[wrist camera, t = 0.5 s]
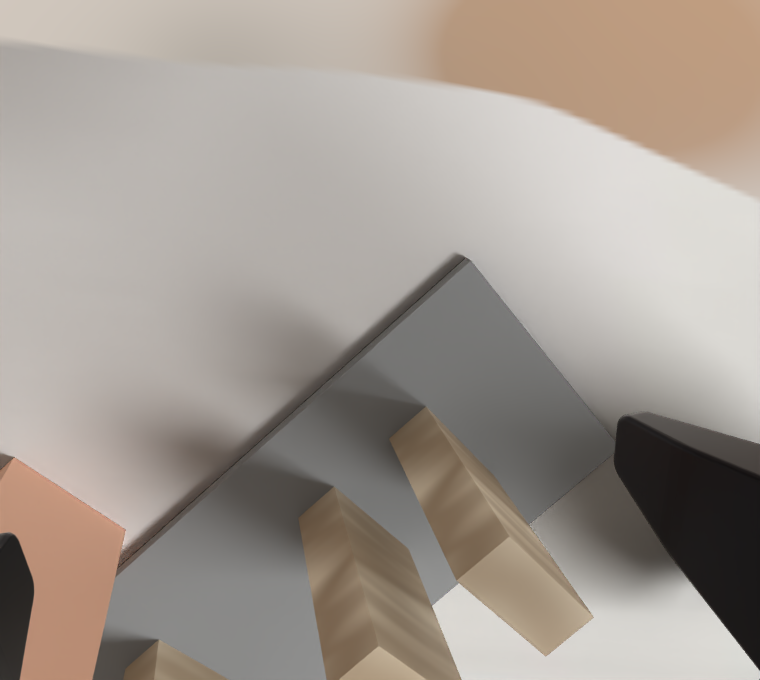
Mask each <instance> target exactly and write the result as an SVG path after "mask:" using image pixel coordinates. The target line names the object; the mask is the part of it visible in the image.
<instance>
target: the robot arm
mask: <svg viewBox="0 0 760 680" xmlns="http://www.w3.org/2000/svg"><path fill="white" fill-rule="evenodd" d="M614 465H615V469H616V471H617V473H618V475H619V477H620V479H621V480H622V482H623V483H624V485H625V487H626V488H627V490H628V491H629V493H630V494H631V496H632V498H633V499H634V501H635V502H636V504H637V506H638V507H639V509H640V510H641V512H642V513H643V515H644V517H645V518H646V520H647V521H648V523H649V525H650V526H651V528H652V529H653V531H654V532H655V534H656V536H657V537H658V539H659V540H660V542H661V543H662V545H663V546H664V548H665V549H666V551H667V552H668V553H669V555H670V556H671V557H672V559H673V560H674V561H675V563H676V564H677V565H678V567H679V568H680V569H681V571H682V572H683V573H684V574H685V576H686V577H687V578H688V580H689V581H690V582H691V583H692V585H693V586H694V587H695V588H696V590H697V591H698V592H699V594H700V595H701V596H702V597H703V599H704V600H705V601H706V603H707V604H708V605H709V606H710V608H711V609H712V610H713V612H714V613H715V614H716V615H717V617H718V618H719V619H720V621H721V622H722V623H723V624H724V626H725V627H726V628H727V629H728V631H729V632H730V633H731V635H732V636H733V637H734V638H735V640H736V641H737V642H738V644H739V645H740V646H741V647H742V649H743V650H744V651H745V653H746V654H747V655H748V656H749V658H750V659H751V660H752V661H753V663H754V664H755V665H756V667H757V668H758V669H759V670H760V444H757V443H754V442H750V441H747V440H743V439H740V438H736V437H733V436H729V435H726V434H722V433H719V432H715V431H712V430H708V429H705V428H702V427H698V426H695V425H691V424H688V423H684V422H681V421H677V420H674V419H670V418H667V417H663V416H660V415H656V414H653V413H649V412H638V413H633V414H628V415H624V416H622V417H621V418H620V419H619V421H618V424H617V433H616V442H615V452H614ZM33 600H34V581H33V577H32V574H31V572H30V569H29V566H28V564H27V561H26V558H25V555H24V553H23V550H22V547H21V545H20V542H19V540H18V538H17V537H16V535H15V534H13V533H11V532H6V533H0V680H20V676H21V670H22V664H23V658H24V653H25V647H26V641H27V635H28V629H29V623H30V617H31V611H32V606H33ZM759 680H760V679H759Z"/></svg>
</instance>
